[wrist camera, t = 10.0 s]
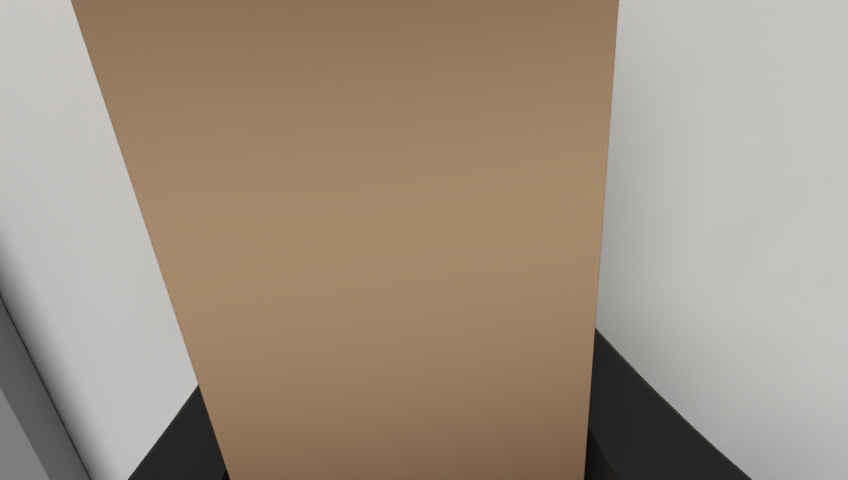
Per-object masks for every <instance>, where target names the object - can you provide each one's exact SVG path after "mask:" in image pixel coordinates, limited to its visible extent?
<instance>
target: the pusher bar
mask: <svg viewBox="0 0 848 480" xmlns="http://www.w3.org/2000/svg"><path fill="white" fill-rule="evenodd" d="M71 2H72V5H73V8H74V11H75V14H76V17H77V20H78V23H79V26H80V29H81V32H82V35H83V38H84V41H85V44H86V47H87V50H88V53H89V56H90V59H91V62H92V66H93V69H94V72H95V75H96V78H97V81H98V84H99V87H100V90H101V93H102V96H103V99H104V102H105V105H106V108H107V111H108V114H109V117H110V120H111V123H112V126H113V129H114V132H115V135H116V138H117V141H118V144H119V147H120V150H121V153H122V156H123V159H124V162H125V165H126V168H127V171H128V174H129V177H130V180H131V183H132V186H133V189H134V192H135V195H136V198H137V201H138V204H139V207H140V210H141V213H142V216H143V219H144V222H145V225H146V228H147V231H148V234H149V237H150V240H151V243H152V246H153V249H154V252H155V255H156V258H157V261H158V264H159V267H160V270H161V273H162V276H163V279H164V282H165V285H166V288H167V291H168V294H169V297H170V300H171V303H172V306H173V309H174V312H175V315H176V318H177V321H178V324H179V327H180V330H181V333H182V336H183V339H184V342H185V345H186V348H187V351H188V354H189V357H190V360H191V363H192V366H193V369H194V372H195V375H196V378H197V381H198V384H199V387H200V390H201V393H202V396H203V399H204V402H205V405H206V408H207V411H208V414H209V417H210V420H211V423H212V426H213V429H214V432H215V435H216V438H217V441H218V444H219V447H220V450H221V453H222V456H223V459H224V462H225V465H226V468H227V471H228V474H229V477H230V480H584V470H585V457H586V443H587V429H588V416H589V402H590V388H591V375H592V361H593V347H594V334H595V320H596V306H597V293H598V279H599V265H600V251H601V238H602V224H603V210H604V197H605V183H606V169H607V156H608V142H609V128H610V115H611V101H612V87H613V74H614V60H615V46H616V33H617V19H618V5H619V0H71Z"/></svg>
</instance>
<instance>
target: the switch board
mask: <svg viewBox="0 0 848 480" xmlns="http://www.w3.org/2000/svg"><path fill="white" fill-rule="evenodd" d="M0 480H90V479H89V477H88V475H87V473H86V471H85V469H84V467H83V465H82V463H81V461H80V459H79V457H78V454H77V452H76V450H75V448H74V446H73V444H72V442H71V440H70V438H69V436H68V434H67V432H66V430H65V428H64V426H63V424H62V422H61V420H60V418H59V416H58V414H57V412H56V410H55V408H54V406H53V404H52V402H51V400H50V398H49V396H48V394H47V392H46V390H45V388H44V386H43V384H42V382H41V380H40V378H39V375H38V373H37V371H36V369H35V367H34V365H33V363H32V361H31V359H30V357H29V355H28V353H27V351H26V349H25V347H24V345H23V343H22V341H21V339H20V337H19V335H18V333H17V331H16V329H15V327H14V325H13V323H12V321H11V319H10V317H9V315H8V313H7V311H6V309H5V307H4V305H3V303H2V301H1V299H0Z"/></svg>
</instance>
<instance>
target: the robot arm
mask: <svg viewBox="0 0 848 480" xmlns="http://www.w3.org/2000/svg"><path fill="white" fill-rule="evenodd" d="M128 480H230V477H229V474H228V471H227V468H226V465H225V462H224V459H223V456H222V453H221V450H220V447H219V444H218V441H217V438H216V435H215V432H214V429H213V426H212V423H211V420H210V417H209V414H208V411H207V408H206V405H205V402H204V399H203V396H202V393H201V390H200V387H199V384H198V386H197V387H196V389H195V390H194V391H193V393H192V394H191V396H190V397H189V398H188V400H187V401H186V403H185V404H184V405H183V407H182V408H181V409H180V411H179V412H178V414H177V415H176V416H175V418H174V419H173V421H172V422H171V423H170V425H169V426H168V427H167V429H166V430H165V431H164V433H163V434H162V435H161V437H160V438H159V439H158V440H157V442H156V443H155V444H154V446H153V447H152V448H151V450H150V451H149V452H148V454H147V455H146V456H145V458H144V459H143V460H142V462H141V463H140V464H139V466H138V467H137V468H136V470H135V471H134V472H133V473H132V475H131V476H130V477H129V479H128ZM584 480H752V479H751V478H750V477H748V476H747V475H746V474H745V473H744V472H743V471H741V470H740V469H739V468H738V467H737V466H736V465H735V464H733V463H732V462H731V461H730V460H729V459H728V458H727V457H725V456H724V455H723V454H722V453H721V452H720V451H719V450H717V449H716V448H715V447H714V446H713V445H712V444H711V443H710V442H709V441H708V440H707V439H705V438H704V437H703V436H702V435H701V434H700V433H699V432H698V431H697V430H696V429H695V428H694V427H692V426H691V425H690V424H689V423H688V422H687V421H686V420H685V419H684V418H683V417H682V416H681V415H680V414H679V413H678V412H677V411H676V410H675V409H674V408H673V407H672V406H671V405H670V404H669V403H668V402H667V401H666V400H664V399H663V398H662V397H661V396H660V395H659V394H658V393H657V392H656V391H655V390H654V389H653V388H652V387H651V386H650V385H649V384H648V383H647V382H646V381H645V380H644V379H643V378H642V377H641V376H640V375H639V374H638V373H637V372H636V371H635V370H634V368H633V367H632V366H631V365H630V364H629V363H628V362H627V361H626V360H625V359H624V358H623V357H622V356H621V355H620V354H619V353H618V352H617V351H616V350H615V348H614V347H613V346H612V345H611V344H610V343H609V342H608V341H607V340H606V339H605V338H604V337H603V336H602V334H601V333H600V332H599V331H598V330H597V329H596V328H595V334H594V347H593V361H592V375H591V388H590V402H589V416H588V429H587V443H586V457H585V470H584Z"/></svg>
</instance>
